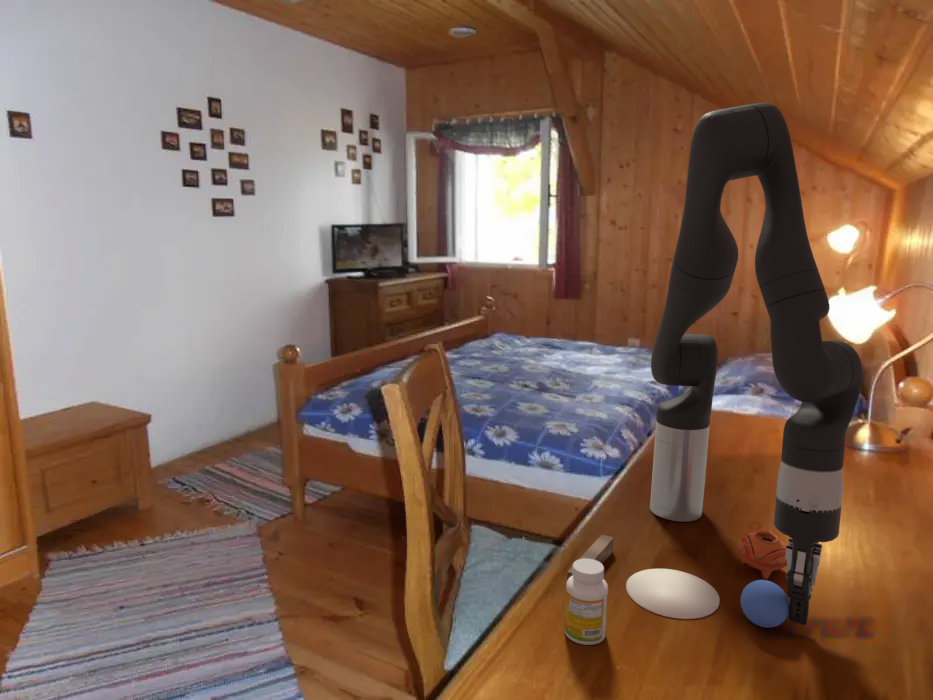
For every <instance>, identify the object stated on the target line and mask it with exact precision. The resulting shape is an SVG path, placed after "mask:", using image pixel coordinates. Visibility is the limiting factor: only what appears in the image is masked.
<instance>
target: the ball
mask: <svg viewBox="0 0 933 700" xmlns="http://www.w3.org/2000/svg"><path fill="white" fill-rule="evenodd" d="M788 598H789V597H788V595H787V593H786V592H785V590H783V588H782V587H780V586H779V585H778V584H776V583H774V582H773V581H769V580H768V579H758V580H753V581H752V582H750V583H748V584H747V585H746V586H745V587H744V588H743V590H742V592H741V595H740V606H741V608H742V609H741V611H742V612H743V614H744V616H745V617H746V618H747V619H748V620H749V621H750V622H751V623H752V624H754V625H756V626H758V627H760V628H768V629H769V628H774V627H778V626H780V625H782V624H783V623H784V622H785V621H786V619H787V618H788V616H789V604H790V600H789V599H788Z"/></svg>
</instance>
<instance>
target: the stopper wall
mask: <svg viewBox="0 0 933 700" xmlns="http://www.w3.org/2000/svg"><path fill="white" fill-rule="evenodd" d="M614 539H615V538H614V537H612V536H608V535H604V534H601V535H600V536H599V537H598V538H597V539H596V540H595V541H594V542H593V544H591V546H589V548H588V549H587V550H586V551H585V552H584V553H583V554H582V555H581V557H580V558H579V559H593V560H596V561H599V562H600V563H601V564H602V565H603V564H604V563H605V562H606V561H607V560H608V558H609V557H610V556H611V554H613V552H614ZM572 568H573V565H572V566H571V567H570V568H569V570H567V573H566V575H567V576H566V581H567V580H568V579H569V578H570V577H571V576H572Z"/></svg>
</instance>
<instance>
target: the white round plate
mask: <svg viewBox="0 0 933 700" xmlns="http://www.w3.org/2000/svg"><path fill="white" fill-rule="evenodd" d="M625 587H626V588H625V589H626V592H627V593H626V594H627V595H628V596H629V598H630V599H631V600H632V601H633V602H634V603H636V604H637V606H639V607H641V608H643V609H645V610H647V611H648V612H651V613H654V614H656V615H659V616H662V617H666V618H669V619H670V618H672V619H676V620H677V619H678V620H694V619H696V620H697V619H701V618H705V617H708V616H710V615H712V614H714V613H715V612H716V610H717V609H718V608H719V606H720V602H721V601H720V600H721V599H720V595H719V593H718V591H716V589H715V588H714V587H713V586H712V585H711V584H710V583H708V582H707V581H705V580H704V579H702V578H700V577H698V576H696V575H693V574H690V573H688V572H684V571H681V570H677V569H671V568H648V569H643V570H640V571H637V572H635V573H633V574H632V575H631V576H629V578H628V579H627V580H626V584H625Z"/></svg>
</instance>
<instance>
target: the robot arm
mask: <svg viewBox="0 0 933 700" xmlns="http://www.w3.org/2000/svg"><path fill="white" fill-rule="evenodd" d="M796 167H797V165H796V160H795V155H794V149H793V142H792V139H791V134H790V131H789V127H788V124H787V121H786V118H785V117H784V115H783V113H782V111H781V110H780V109H779V108H778V107H777V106H776V105H774V103H770V102H757V103H750V104H744V105H739V106H732V107H728V108H727V107H726V108H722V109H717V110H713V111H709V112H707V113H705V114H703V115H702V116H701V118H699V120H698V121H697V122H696V125H695V127H694V129H693V134H692V137H691V142H690V149H689V157H688V166H687V178H686V187H685V198H684V206H683V211H682V217H681V223H680V229H679V234H678V238H677V242H676V243H677V244H676V245H675V246H676V247H675V250H674V253H673V254H674V255H673V258H672V259H673V260H672V263H671V268H670V275H669V281H668V288H667V293H666V294H667V295H666V300H665V305H664V309H663V314H662V318H661V319H660V320H661V321H660V324H659V327H658V331H657V333H656V337H655V340H654V344H653V347H652V353H651V359H650V360H651V361H650V371H651V375H652V378H653V380H654V381H655V382H656V383H658V384H661V385H664V386H670V387H671V386H673V387H674V386H676V387H690V389H689V390H687V391H686V392H685V393H683V394H681V395H680V396H677V397H674V398H672V399H667V400H665V401H663V402H661V403H659V404H658V406H657V408H656V415H655V417H656V418H655V431H654V446H653V460H652V461H653V462H652V473H651V474H652V475H651V488H650V490H651V491H650V501H649V509H650V511H651V512H652V513H653V514H654V515H655V516H657V517H659V518H663V519H665V520H669V521H673V522H681V523H682V522H684V523H685V522H686V523H687V522H695V521H697V520H699V519H701V517H702V516H703V505H704V504H703V503H704V495H705V494H704V493H705V482H706V474H707V473H706V471H707V459H708V449H709V437H710V436H709V435H710V423H711V414H712V408H713V399H714V398H713V397H714V389H715V385H716V384H715V383H716V377H717V371H718V364H719V363H718V362H719V361H718V360H719V350H718V344H717V341H716V339H715V338H714V337H713V336H712V335H709V334H700V333H699V334H698V333H695V334H693V333H686V332H688V329H689V328H691V327H692V326H693V325H694V324H695V323H696V322H698V321H699V320H700V319H702V318H703V317H705V315H707V314H708V313H709V312H710V311H712V310H713V309H714V308H715V307H716V306H717V305H718V304H719V303H720V302H722V300H723V299H724V298H725V297H726V295H727V294H728V293H729V291H730V288H731V285H732V282H733V279H734V276H735V272H736V268H737V265H738V262H739V261H738V260H739V247H738V244H737V242H736V239H735V237H734V234H733V233H732V231H731V229H730V228H729V226H728V224H727V221H725V218H724V216H723V214H722V212H721V204H722V196H723V194H724V193H723V192H724V189H725V187H726V185H727V184H728V182H729V181H733V180H739V179H744V178H751V177H754V176H755V177H756V176H757V178H758V179H759V180H758V181H759V183H760V184H761V188H762V190H763V195H764V215H763V219H762V220H763V222H762V225H761V229H760V233H759V236H758V241H757V245H756V249H755V256H754V268H755V276H756V280H757V283H758V287H759V289H760V290H759V291H760V292H761V296H762V299H763V302H764V305H765V308H766V311H767V313H768V317H769V319H770V321H769V322H770V324H769V325H770V327H769V328H770V329H769V330H770V335H769V336H770V345H771V358H772V359H771V360H772V367H773V371H774V375H775V377H776V380H777V382H778V384H779V385H780V387H781V389H783V391H784V392H785V393H786V394H787V395H788V396H789V397H790V398H793V399H794V400H796V401H799V402H801V403H800V407H799V408H798V409H797V411H796V412H795V413H794V414H792V415H791V416H790V417H789V418H787V420H786V421H785V423H784V426H783V431H782V444H781V445H782V448H781V459H780V465H779V469H778V474H777V479H776V491H775V493H776V494H775V503H774V504H775V506H774V517H773V519H774V520H773V524H774V525H773V526H774V527H775V528H776V530H777V531H779V532H780V533H781V534H783V535H785V536H788V542H787V544H786V545H787V546H786V555H785V558H786V560H787V566H786V571H785V572H786V574H785V578H786V580H787V581H786V583H787V589H786V595H787V598H789V614H788V616H787V618H788V620H789V621H790V622H792V623H795V624H798V625H802V626H804V625H807V623H808V618H809V610H810V600H811V599H812V594H813V591H814V589H813V586H815V585H816V582H817V577H818V570H819V566H820V562H821V556H822V551H823V543H829V542H832V541H834V540H836V539H837V538H838V537H839V534H840V528H841V527H840V526H841V515H842V508H843V507H842V504H843V503H842V502H843V495H844V494H843V493H844V459H845V448H846V435H847V434H846V433H847V430H848V428H849V426H850V423H851V421H852V418H853V415H854V412H855V409H856V407H857V404H858V400H859V397H860V394H861V391H862V385H863V377H864V370H863V364H862V360H861V358H860V356H859V354H858V352H857V350H855V348H854V347H853V346H851V345H850V344H849V343H847V342H844V341H842V340H835V339H828V340H823V338H822V332H821V323H820V321H821V320H823V319H825V317H827V316H828V314H829V312H830V301H829V298H828V295H827V291H826V288H825V286H824V283H823V280H822V278H821V274H820V271H819V268H818V266H817V263H816V259H815V257H814V254H813V251H812V247H811V244H810V240H809V236H808V232H807V227H806V222H805V216H804V210H803V203H802V202H803V201H802V197H801V195H802V194H801V190H800V183H799V177H798V172H797V168H796Z"/></svg>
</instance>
